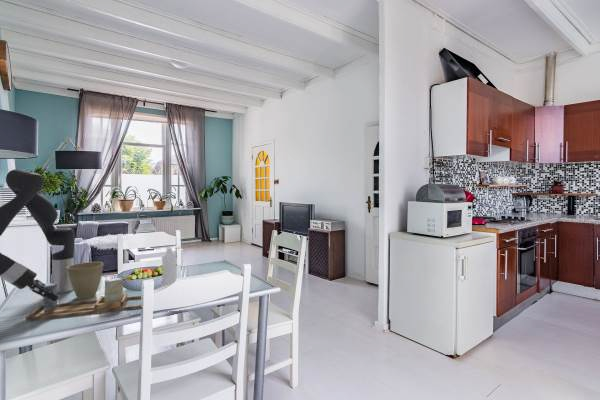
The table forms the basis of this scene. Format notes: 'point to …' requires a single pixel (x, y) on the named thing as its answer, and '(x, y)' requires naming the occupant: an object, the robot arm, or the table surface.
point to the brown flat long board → (35, 312)
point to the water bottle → (169, 266)
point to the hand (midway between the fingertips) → (56, 297)
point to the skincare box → (113, 290)
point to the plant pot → (85, 278)
